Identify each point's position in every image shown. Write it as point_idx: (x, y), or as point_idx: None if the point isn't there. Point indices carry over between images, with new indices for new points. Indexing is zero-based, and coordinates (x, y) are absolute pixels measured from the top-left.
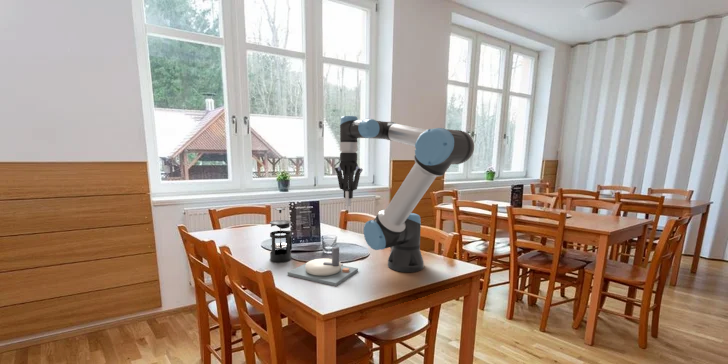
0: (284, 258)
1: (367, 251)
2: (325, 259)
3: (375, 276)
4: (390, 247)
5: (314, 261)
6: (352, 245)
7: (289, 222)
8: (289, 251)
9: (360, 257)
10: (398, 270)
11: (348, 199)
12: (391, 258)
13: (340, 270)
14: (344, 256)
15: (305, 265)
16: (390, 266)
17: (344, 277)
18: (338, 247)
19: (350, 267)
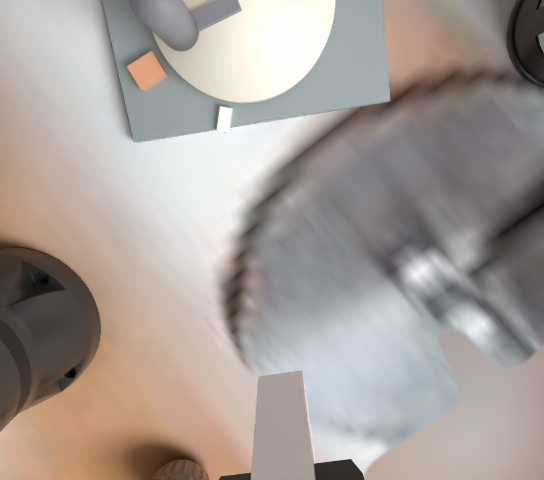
0: (527, 2)
1: None
2: (282, 68)
3: (40, 139)
4: (197, 465)
5: (308, 3)
6: (390, 418)
7: None
8: (541, 32)
9: (247, 299)
10: (2, 248)
11: (255, 446)
12: (40, 290)
13: None
14: (317, 266)
15: (363, 6)
16: (45, 258)
17: (103, 5)
18: (143, 15)
19: (168, 129)
